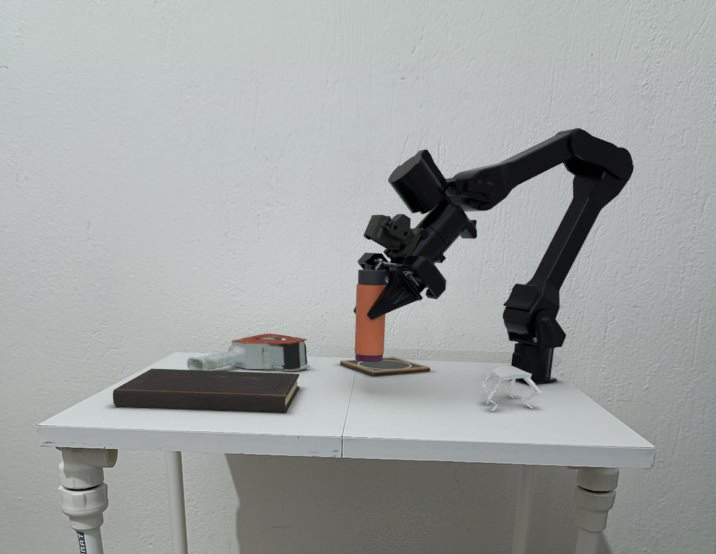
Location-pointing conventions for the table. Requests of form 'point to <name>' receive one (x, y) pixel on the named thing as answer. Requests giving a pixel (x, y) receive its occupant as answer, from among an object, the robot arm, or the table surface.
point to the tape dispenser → (257, 354)
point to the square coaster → (385, 366)
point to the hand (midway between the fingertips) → (362, 315)
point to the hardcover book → (209, 390)
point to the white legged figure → (509, 374)
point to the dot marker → (368, 330)
